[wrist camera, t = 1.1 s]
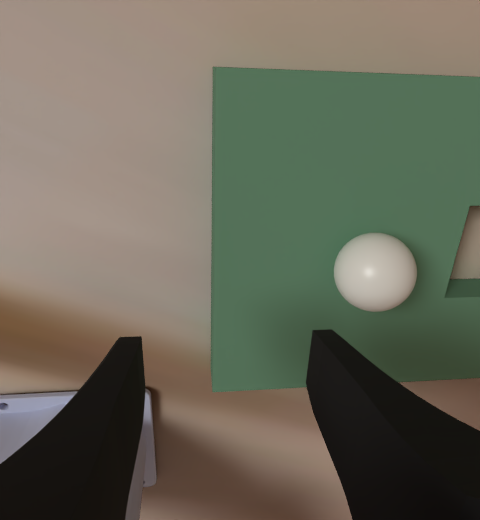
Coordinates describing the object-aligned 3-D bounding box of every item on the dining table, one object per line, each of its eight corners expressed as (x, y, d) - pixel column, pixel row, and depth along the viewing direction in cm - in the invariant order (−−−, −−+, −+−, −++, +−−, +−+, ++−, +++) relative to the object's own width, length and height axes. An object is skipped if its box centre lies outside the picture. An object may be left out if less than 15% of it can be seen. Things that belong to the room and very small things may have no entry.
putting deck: (210, 368, 24) (212, 392, 23) (212, 66, 18) (215, 67, 16) (508, 353, 27) (531, 374, 25) (611, 81, 20) (653, 83, 18)
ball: (320, 288, 21) (343, 329, 18) (328, 221, 19) (356, 252, 16) (387, 286, 21) (422, 326, 18) (401, 221, 20) (442, 251, 16)
